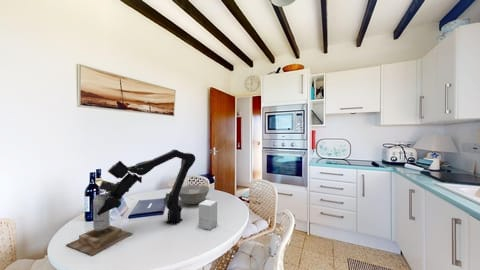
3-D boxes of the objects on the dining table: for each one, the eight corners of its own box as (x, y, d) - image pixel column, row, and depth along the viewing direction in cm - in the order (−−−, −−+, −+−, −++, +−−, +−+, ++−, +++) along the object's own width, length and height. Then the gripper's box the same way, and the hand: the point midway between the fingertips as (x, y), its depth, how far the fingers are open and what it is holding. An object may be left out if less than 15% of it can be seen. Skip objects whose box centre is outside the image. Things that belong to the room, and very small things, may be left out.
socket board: (132, 234, 93) (132, 227, 93) (92, 256, 77) (92, 247, 77) (108, 227, 100) (108, 220, 100) (66, 245, 84) (66, 237, 84)
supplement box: (217, 224, 104) (217, 201, 104) (209, 230, 98) (210, 205, 98) (206, 221, 108) (206, 199, 107) (198, 227, 101) (198, 203, 101)
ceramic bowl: (206, 209, 125) (206, 193, 125) (171, 208, 126) (171, 193, 125) (211, 197, 147) (211, 184, 147) (181, 197, 148) (181, 184, 148)
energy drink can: (90, 231, 86) (89, 197, 86) (100, 224, 92) (100, 193, 92) (102, 231, 86) (102, 198, 85) (112, 224, 92) (112, 193, 91)
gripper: (111, 171, 98) (83, 196, 92) (111, 178, 83) (78, 209, 77) (128, 183, 103) (104, 209, 97) (132, 192, 88) (103, 223, 81)
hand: (97, 212), depth 88 cm, fingers closed on energy drink can, 6 cm apart
